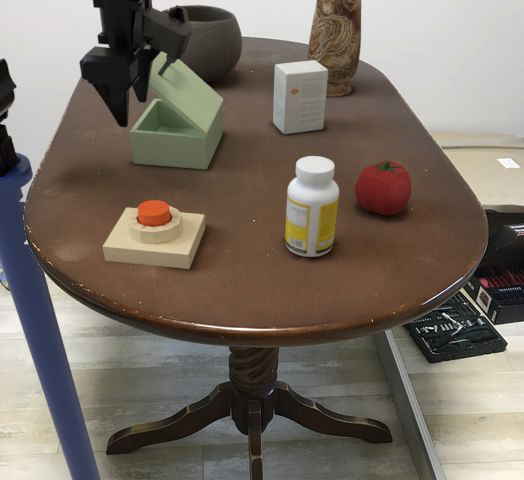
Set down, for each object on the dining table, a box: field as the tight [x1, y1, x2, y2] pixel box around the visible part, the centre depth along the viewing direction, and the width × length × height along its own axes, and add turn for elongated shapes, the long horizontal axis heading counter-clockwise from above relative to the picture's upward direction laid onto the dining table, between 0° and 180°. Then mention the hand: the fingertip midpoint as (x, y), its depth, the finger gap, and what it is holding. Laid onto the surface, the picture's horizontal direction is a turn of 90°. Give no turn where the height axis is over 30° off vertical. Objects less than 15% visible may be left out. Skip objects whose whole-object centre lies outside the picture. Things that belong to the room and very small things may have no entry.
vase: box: [307, 0, 362, 97], centre depth 114 cm, size 10×11×30 cm
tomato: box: [354, 160, 412, 217], centre depth 85 cm, size 8×8×7 cm
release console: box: [102, 205, 206, 270], centre depth 77 cm, size 11×10×4 cm
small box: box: [272, 60, 328, 135], centre depth 105 cm, size 8×6×10 cm
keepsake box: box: [129, 98, 224, 171], centre depth 99 cm, size 12×15×5 cm
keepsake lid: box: [148, 51, 224, 136], centre depth 93 cm, size 13×15×5 cm
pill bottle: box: [284, 155, 340, 258], centre depth 75 cm, size 6×6×12 cm
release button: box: [137, 199, 170, 227], centre depth 76 cm, size 4×4×2 cm
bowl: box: [163, 4, 243, 83], centre depth 123 cm, size 18×18×13 cm
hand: (133, 113), depth 83 cm, fingers open, 9 cm apart
